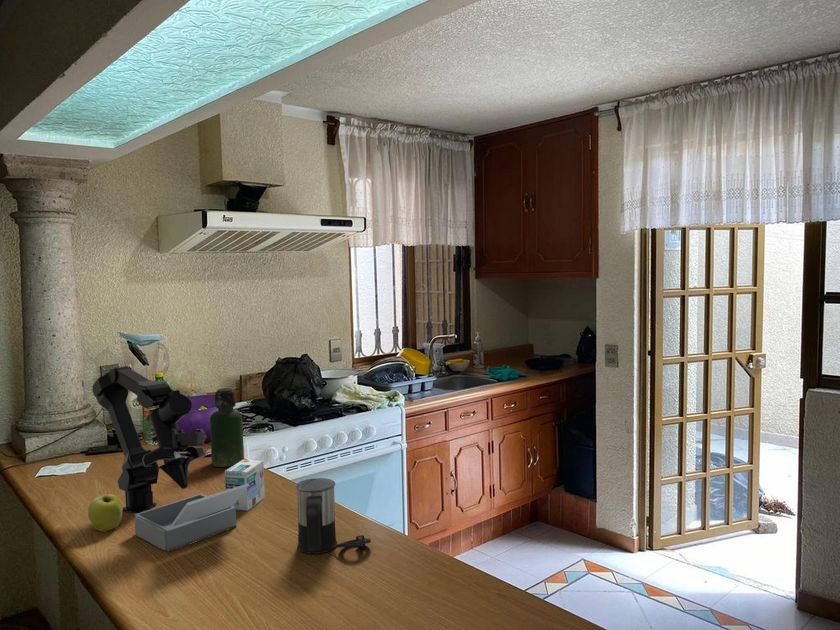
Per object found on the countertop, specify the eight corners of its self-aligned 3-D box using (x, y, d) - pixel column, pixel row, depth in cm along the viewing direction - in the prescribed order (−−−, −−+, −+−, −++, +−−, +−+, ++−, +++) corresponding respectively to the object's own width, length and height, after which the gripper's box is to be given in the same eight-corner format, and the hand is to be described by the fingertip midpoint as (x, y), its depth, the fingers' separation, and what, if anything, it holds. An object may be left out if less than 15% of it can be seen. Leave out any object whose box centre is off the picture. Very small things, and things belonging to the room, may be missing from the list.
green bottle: (215, 459, 217) (212, 387, 215) (246, 457, 218) (243, 386, 216) (208, 468, 206) (205, 393, 204) (241, 467, 207) (238, 392, 206)
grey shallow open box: (133, 534, 155) (132, 514, 155) (202, 511, 170) (201, 493, 169) (167, 552, 145) (166, 531, 144) (237, 526, 159) (236, 507, 159)
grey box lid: (171, 524, 145) (187, 502, 140) (231, 504, 158) (248, 483, 152) (172, 526, 145) (188, 505, 140) (232, 506, 157) (249, 485, 152)
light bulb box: (248, 511, 169) (246, 472, 168) (225, 509, 170) (223, 470, 170) (265, 497, 179) (264, 460, 179) (243, 495, 181) (242, 459, 180)
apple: (81, 534, 156) (79, 494, 155) (107, 521, 163) (105, 484, 163) (105, 538, 153) (103, 498, 153) (131, 525, 161) (129, 487, 160)
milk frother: (293, 541, 150) (291, 480, 149) (357, 530, 156) (356, 471, 155) (306, 567, 137) (304, 500, 135) (375, 553, 143) (374, 489, 141)
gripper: (173, 415, 151) (193, 477, 147) (212, 417, 169) (230, 473, 165) (133, 434, 152) (152, 496, 148) (176, 435, 170) (193, 490, 166)
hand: (184, 488), depth 156 cm, fingers closed
